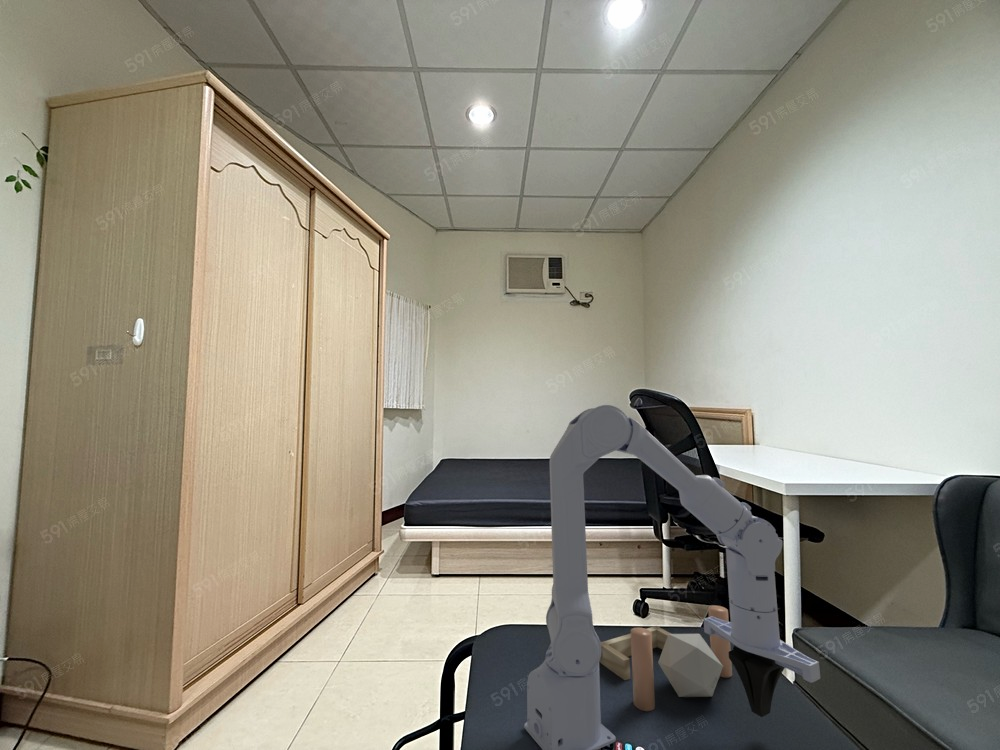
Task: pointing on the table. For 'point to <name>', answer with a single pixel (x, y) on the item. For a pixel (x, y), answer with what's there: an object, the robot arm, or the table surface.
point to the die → (690, 665)
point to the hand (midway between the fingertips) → (760, 711)
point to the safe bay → (626, 651)
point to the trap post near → (642, 669)
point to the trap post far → (721, 642)
